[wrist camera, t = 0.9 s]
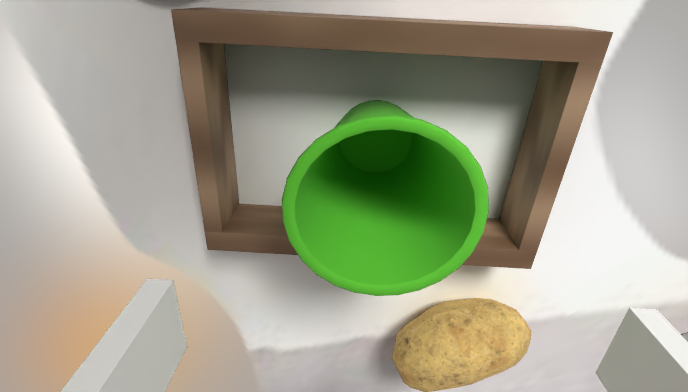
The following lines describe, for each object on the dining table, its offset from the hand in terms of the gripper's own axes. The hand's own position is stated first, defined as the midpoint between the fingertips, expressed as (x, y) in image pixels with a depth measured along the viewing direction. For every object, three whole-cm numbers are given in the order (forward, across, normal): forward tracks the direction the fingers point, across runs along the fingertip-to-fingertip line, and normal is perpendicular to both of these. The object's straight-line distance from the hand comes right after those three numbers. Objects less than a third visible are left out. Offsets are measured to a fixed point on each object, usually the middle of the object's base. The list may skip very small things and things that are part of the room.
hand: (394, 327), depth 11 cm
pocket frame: (+17, 0, 0) cm, 17 cm away
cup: (+17, 0, 0) cm, 17 cm away
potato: (+17, +8, -16) cm, 25 cm away
